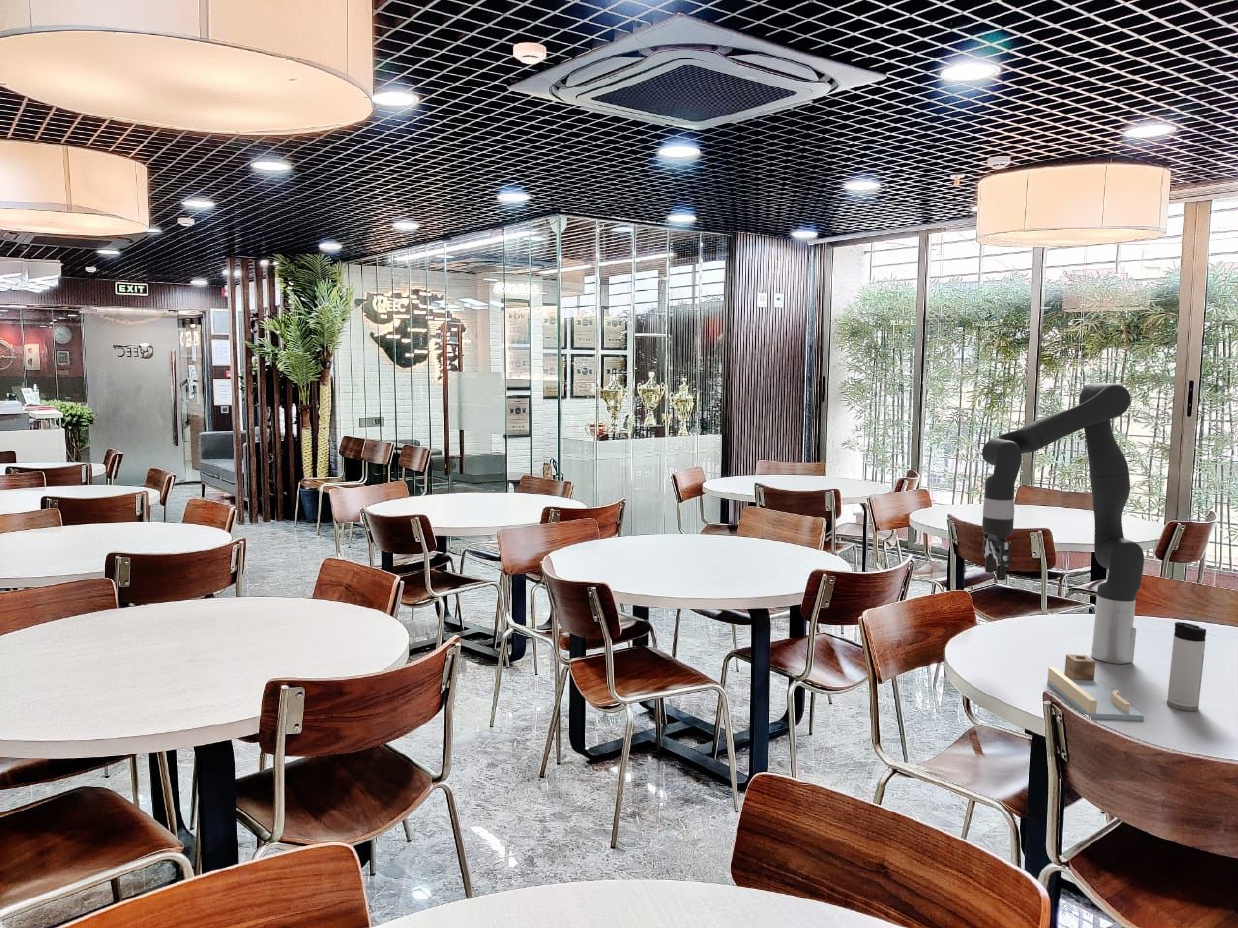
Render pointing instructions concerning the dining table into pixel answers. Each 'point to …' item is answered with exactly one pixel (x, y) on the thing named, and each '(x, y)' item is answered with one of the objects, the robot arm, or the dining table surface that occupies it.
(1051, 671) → the board
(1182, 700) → the travel mug
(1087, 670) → the walnut box
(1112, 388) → the robot arm
